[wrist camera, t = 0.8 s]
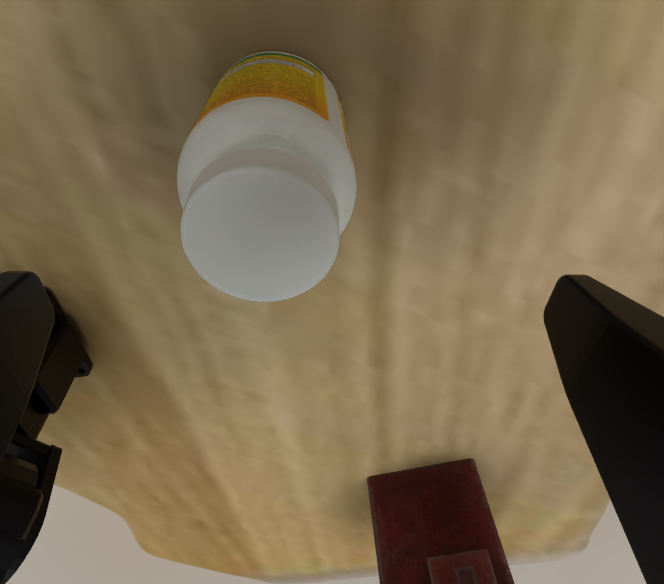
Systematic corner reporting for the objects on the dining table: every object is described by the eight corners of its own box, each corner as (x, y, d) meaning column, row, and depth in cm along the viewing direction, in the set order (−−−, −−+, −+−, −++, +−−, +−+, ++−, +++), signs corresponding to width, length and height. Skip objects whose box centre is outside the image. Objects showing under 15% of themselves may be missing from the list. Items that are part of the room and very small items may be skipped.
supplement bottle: (366, 131, 19) (408, 260, 12) (270, 200, 21) (254, 349, 14) (285, 13, 16) (274, 86, 9) (183, 104, 18) (102, 228, 11)
